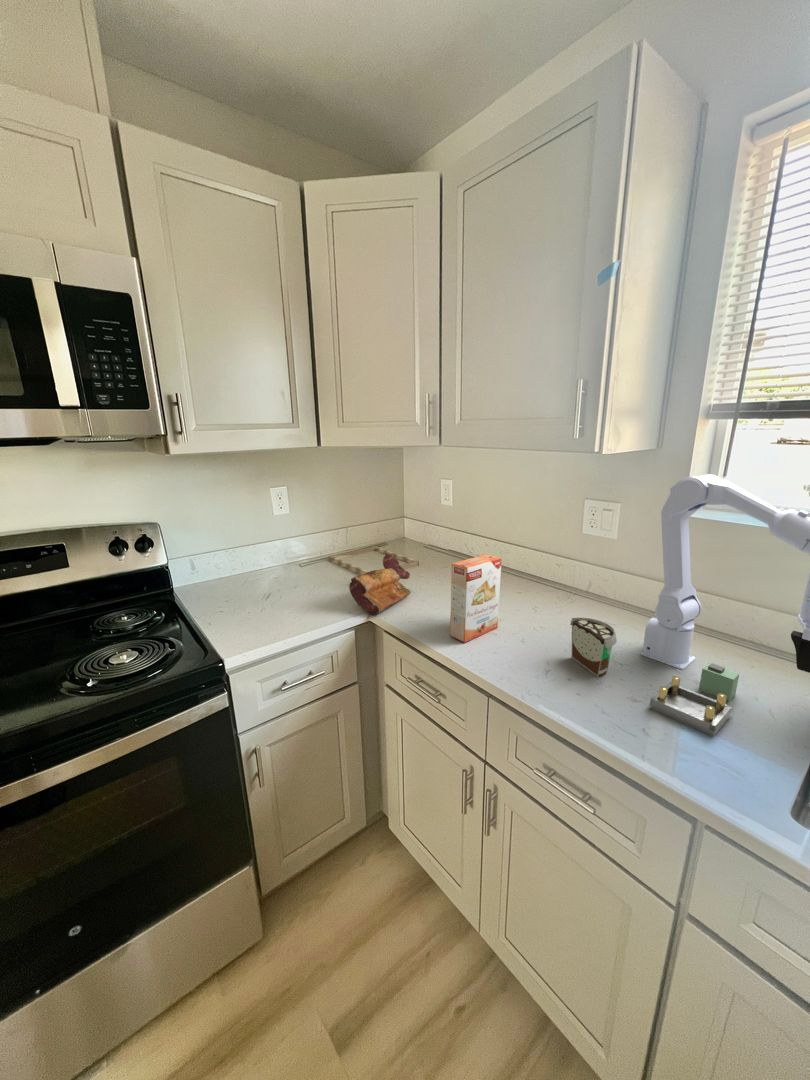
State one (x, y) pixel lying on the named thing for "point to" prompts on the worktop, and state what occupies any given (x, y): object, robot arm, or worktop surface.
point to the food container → (592, 644)
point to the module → (718, 681)
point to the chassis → (691, 707)
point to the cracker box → (475, 597)
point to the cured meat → (380, 586)
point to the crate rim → (360, 571)
